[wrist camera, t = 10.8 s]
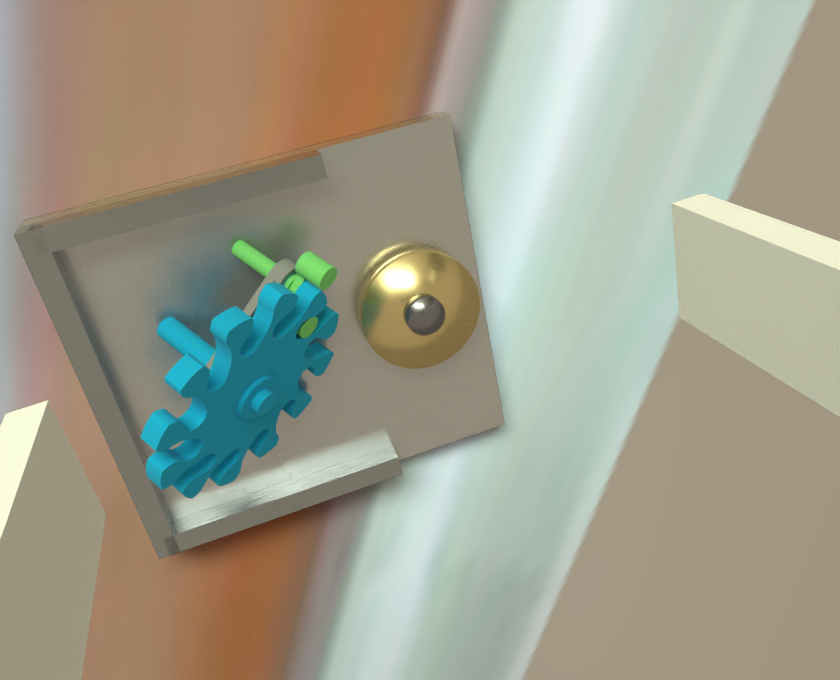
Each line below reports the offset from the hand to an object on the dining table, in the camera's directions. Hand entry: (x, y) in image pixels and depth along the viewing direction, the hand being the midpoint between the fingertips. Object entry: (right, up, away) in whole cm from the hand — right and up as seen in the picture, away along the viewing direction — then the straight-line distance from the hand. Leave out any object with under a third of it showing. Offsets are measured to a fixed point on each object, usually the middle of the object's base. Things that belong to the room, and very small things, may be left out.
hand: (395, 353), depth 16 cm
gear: (-7, 0, +19) cm, 20 cm away
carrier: (-5, +1, +20) cm, 21 cm away
